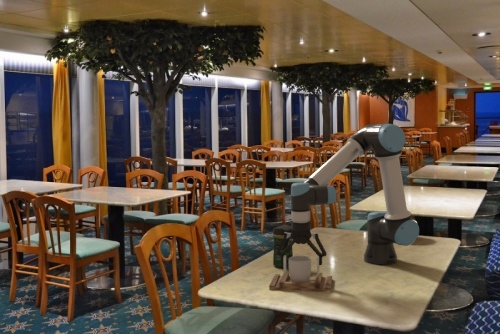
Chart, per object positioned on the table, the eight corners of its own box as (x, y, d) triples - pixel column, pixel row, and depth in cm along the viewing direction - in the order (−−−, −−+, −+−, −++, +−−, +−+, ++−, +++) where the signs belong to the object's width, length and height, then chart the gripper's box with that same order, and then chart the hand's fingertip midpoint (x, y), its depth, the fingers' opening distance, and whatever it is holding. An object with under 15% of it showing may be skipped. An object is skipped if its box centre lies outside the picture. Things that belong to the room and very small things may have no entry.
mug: (305, 287, 217) (305, 262, 216) (285, 284, 221) (284, 259, 220) (318, 278, 228) (317, 254, 227) (298, 276, 232) (298, 252, 231)
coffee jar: (285, 269, 247) (285, 228, 245) (270, 266, 251) (269, 226, 249) (296, 264, 255) (295, 224, 253) (281, 261, 259) (280, 223, 257)
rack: (332, 279, 229) (332, 273, 229) (330, 291, 214) (330, 284, 213) (275, 277, 234) (274, 271, 234) (269, 289, 218) (269, 282, 218)
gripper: (332, 219, 224) (332, 270, 226) (271, 218, 228) (272, 268, 230) (331, 223, 216) (332, 276, 218) (268, 222, 221) (269, 274, 223)
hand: (301, 272), depth 224 cm, fingers open, 13 cm apart
